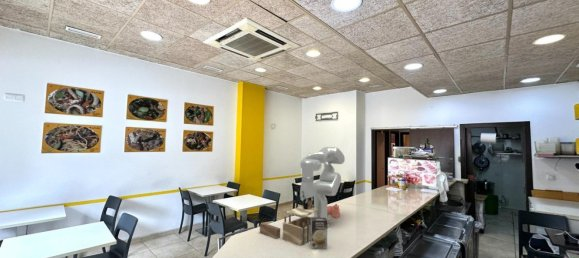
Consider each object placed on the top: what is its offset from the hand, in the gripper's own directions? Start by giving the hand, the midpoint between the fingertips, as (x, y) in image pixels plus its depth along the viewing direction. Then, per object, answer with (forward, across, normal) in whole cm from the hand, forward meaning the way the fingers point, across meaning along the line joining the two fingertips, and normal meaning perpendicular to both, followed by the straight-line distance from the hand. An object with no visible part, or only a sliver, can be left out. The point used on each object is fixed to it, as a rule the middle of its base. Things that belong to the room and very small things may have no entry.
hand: (307, 207), depth 157 cm
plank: (+17, +18, -17) cm, 30 cm away
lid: (+2, +6, 0) cm, 6 cm away
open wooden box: (+17, +7, 0) cm, 18 cm away
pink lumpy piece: (+19, -50, -11) cm, 55 cm away
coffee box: (+17, +11, +16) cm, 26 cm away
